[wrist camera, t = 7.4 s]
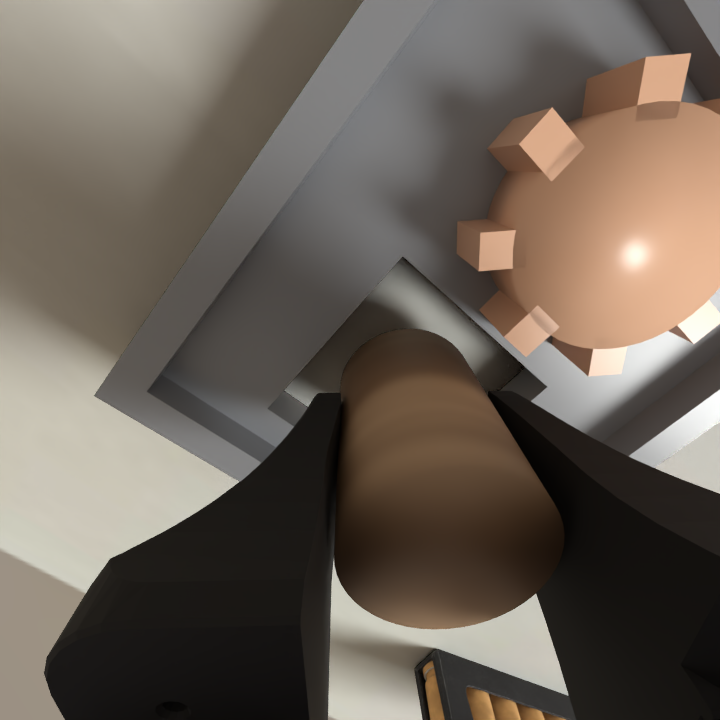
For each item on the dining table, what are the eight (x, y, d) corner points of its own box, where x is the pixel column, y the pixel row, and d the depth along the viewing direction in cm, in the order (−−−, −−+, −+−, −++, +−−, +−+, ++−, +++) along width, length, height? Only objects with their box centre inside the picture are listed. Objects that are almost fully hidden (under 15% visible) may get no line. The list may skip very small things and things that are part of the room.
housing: (519, -190, 8) (622, -404, 5) (816, 259, 13) (975, 291, 9) (137, 356, 13) (71, 416, 10) (441, 551, 17) (461, 636, 14)
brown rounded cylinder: (333, 334, 12) (320, 475, 6) (472, 322, 12) (579, 453, 6) (346, 448, 14) (345, 636, 8) (468, 438, 13) (551, 620, 8)
